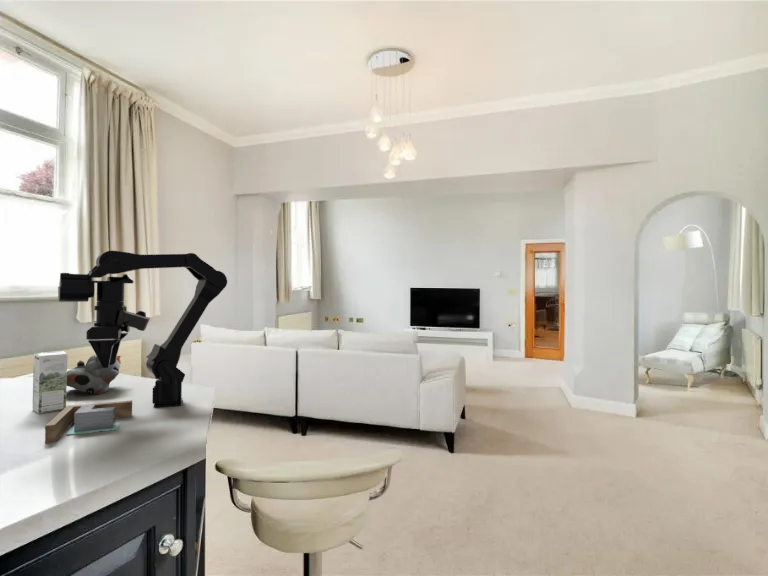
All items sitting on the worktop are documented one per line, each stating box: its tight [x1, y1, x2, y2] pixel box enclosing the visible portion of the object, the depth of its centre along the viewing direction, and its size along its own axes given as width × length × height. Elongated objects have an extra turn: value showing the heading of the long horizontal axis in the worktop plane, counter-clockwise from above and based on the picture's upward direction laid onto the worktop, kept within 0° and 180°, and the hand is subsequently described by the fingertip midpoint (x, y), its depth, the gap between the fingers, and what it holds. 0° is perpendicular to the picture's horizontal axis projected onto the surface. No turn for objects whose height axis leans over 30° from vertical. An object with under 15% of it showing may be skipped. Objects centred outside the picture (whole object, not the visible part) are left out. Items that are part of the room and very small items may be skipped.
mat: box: [65, 422, 121, 436], centre depth 94 cm, size 9×8×1 cm
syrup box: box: [32, 350, 68, 415], centre depth 106 cm, size 6×6×14 cm
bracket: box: [73, 404, 116, 432], centre depth 94 cm, size 7×6×4 cm
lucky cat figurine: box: [67, 354, 121, 396], centre depth 126 cm, size 15×12×14 cm
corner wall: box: [44, 399, 133, 444], centre depth 93 cm, size 13×16×4 cm
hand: (109, 364), depth 104 cm, fingers open, 9 cm apart
